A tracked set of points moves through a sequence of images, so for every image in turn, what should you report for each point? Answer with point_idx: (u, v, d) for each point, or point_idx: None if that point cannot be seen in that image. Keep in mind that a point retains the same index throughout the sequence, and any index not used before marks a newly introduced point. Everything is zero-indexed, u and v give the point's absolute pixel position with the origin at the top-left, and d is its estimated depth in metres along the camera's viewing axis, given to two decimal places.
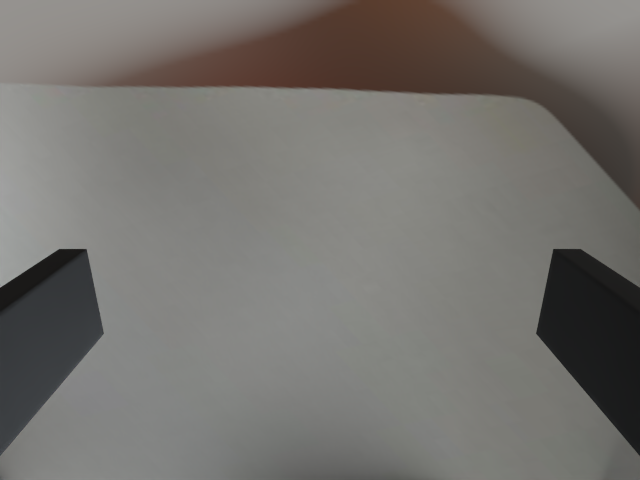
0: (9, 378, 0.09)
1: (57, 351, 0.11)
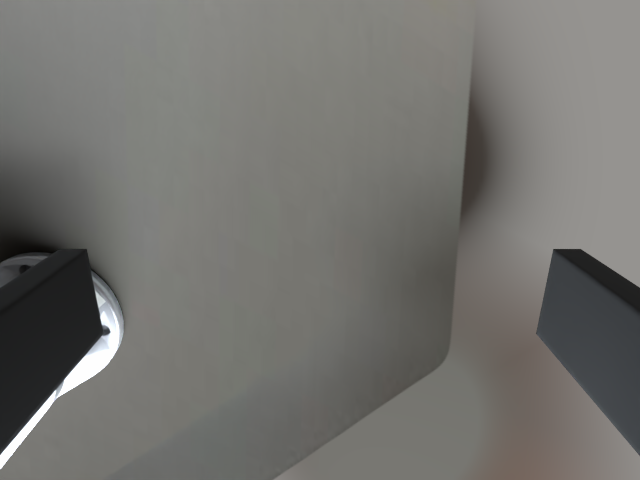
0: (9, 378, 0.09)
1: (57, 351, 0.11)
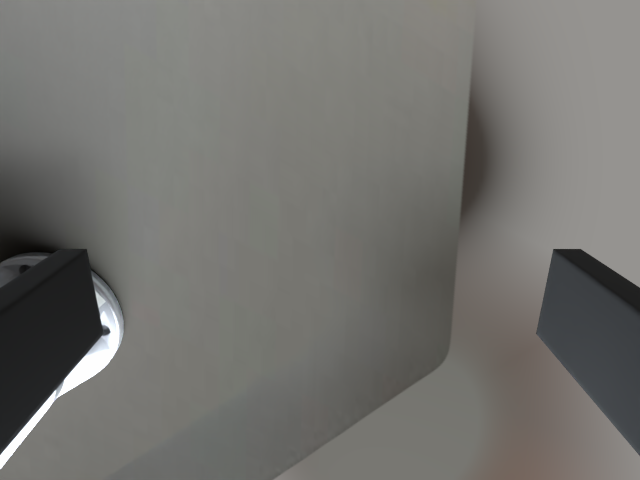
0: (9, 378, 0.09)
1: (57, 351, 0.11)
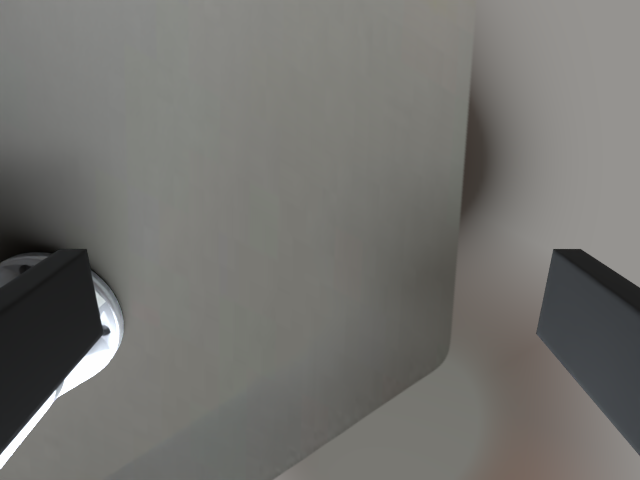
0: (9, 378, 0.09)
1: (57, 351, 0.11)
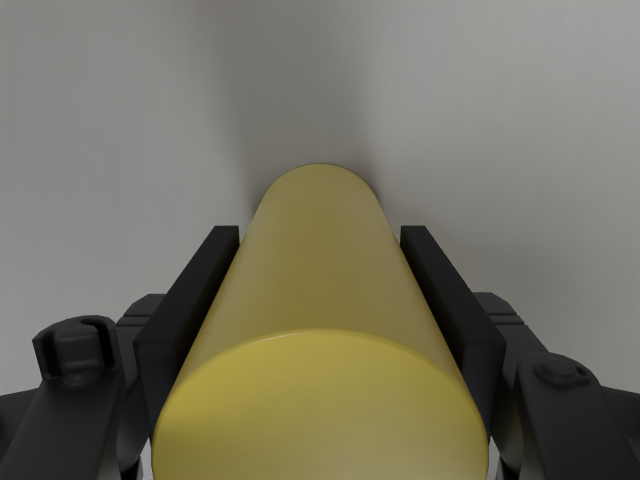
0: None
1: None
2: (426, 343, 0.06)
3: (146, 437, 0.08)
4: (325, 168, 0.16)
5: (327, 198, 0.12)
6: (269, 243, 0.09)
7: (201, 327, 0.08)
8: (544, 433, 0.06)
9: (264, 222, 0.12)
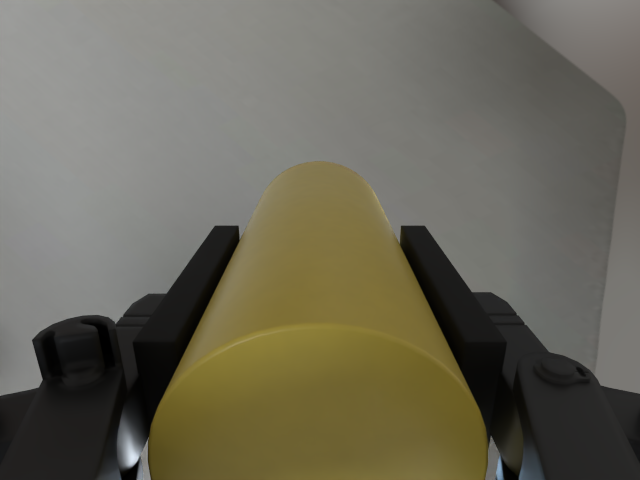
0: None
1: None
2: (424, 338, 0.06)
3: (146, 437, 0.08)
4: (324, 166, 0.16)
5: (326, 195, 0.12)
6: (268, 240, 0.09)
7: (199, 323, 0.08)
8: (544, 433, 0.06)
9: (263, 219, 0.11)
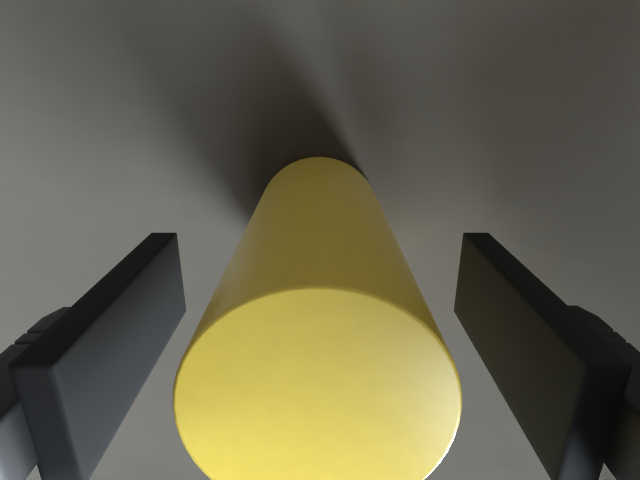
0: (134, 341, 0.10)
1: (160, 322, 0.12)
2: (407, 300, 0.07)
3: (31, 467, 0.08)
4: (324, 161, 0.17)
5: (325, 186, 0.13)
6: (273, 223, 0.11)
7: (213, 295, 0.09)
8: None
9: (267, 207, 0.13)
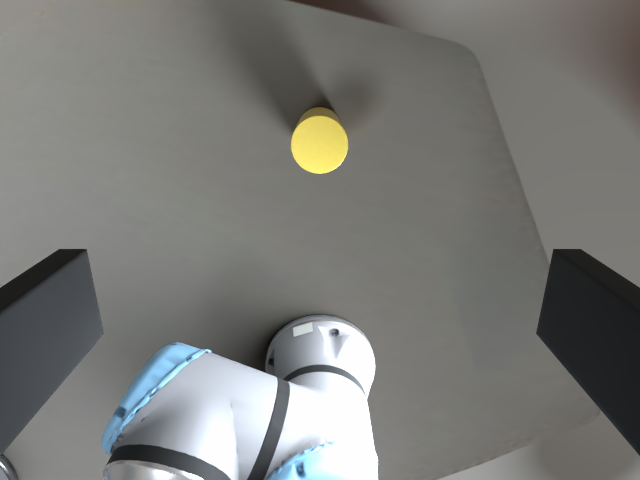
0: (9, 377, 0.09)
1: (57, 351, 0.11)
2: (336, 121, 0.39)
3: None
4: (321, 107, 0.49)
5: (321, 110, 0.45)
6: (308, 114, 0.42)
7: None
8: None
9: (305, 115, 0.44)
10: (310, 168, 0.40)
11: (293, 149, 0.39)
